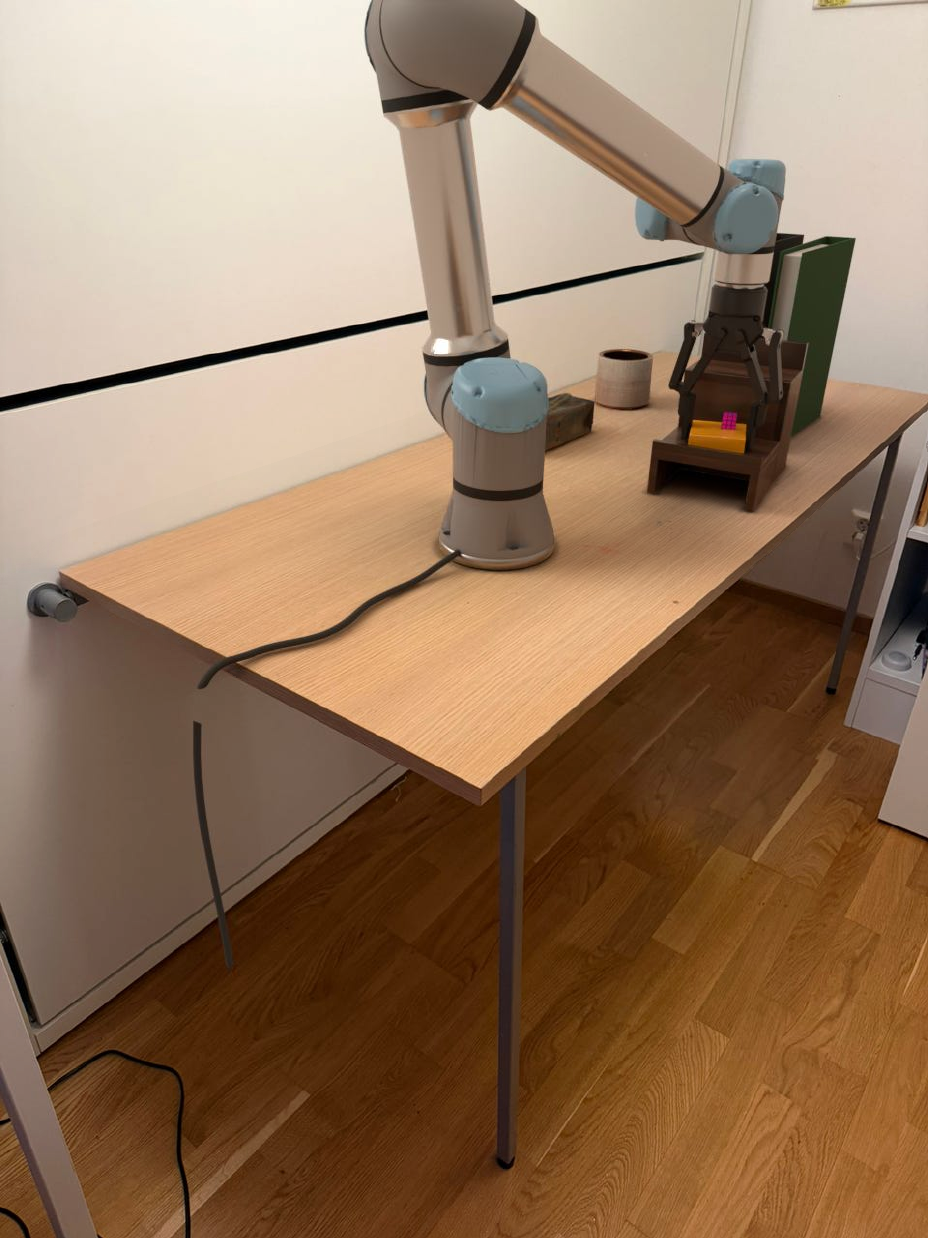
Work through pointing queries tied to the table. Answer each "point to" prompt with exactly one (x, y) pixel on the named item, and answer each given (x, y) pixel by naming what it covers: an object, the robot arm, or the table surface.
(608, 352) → the planter
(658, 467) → the step shelf
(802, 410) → the books
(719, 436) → the orange slab
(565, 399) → the beverage carton
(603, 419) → the table surface
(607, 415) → the table surface
